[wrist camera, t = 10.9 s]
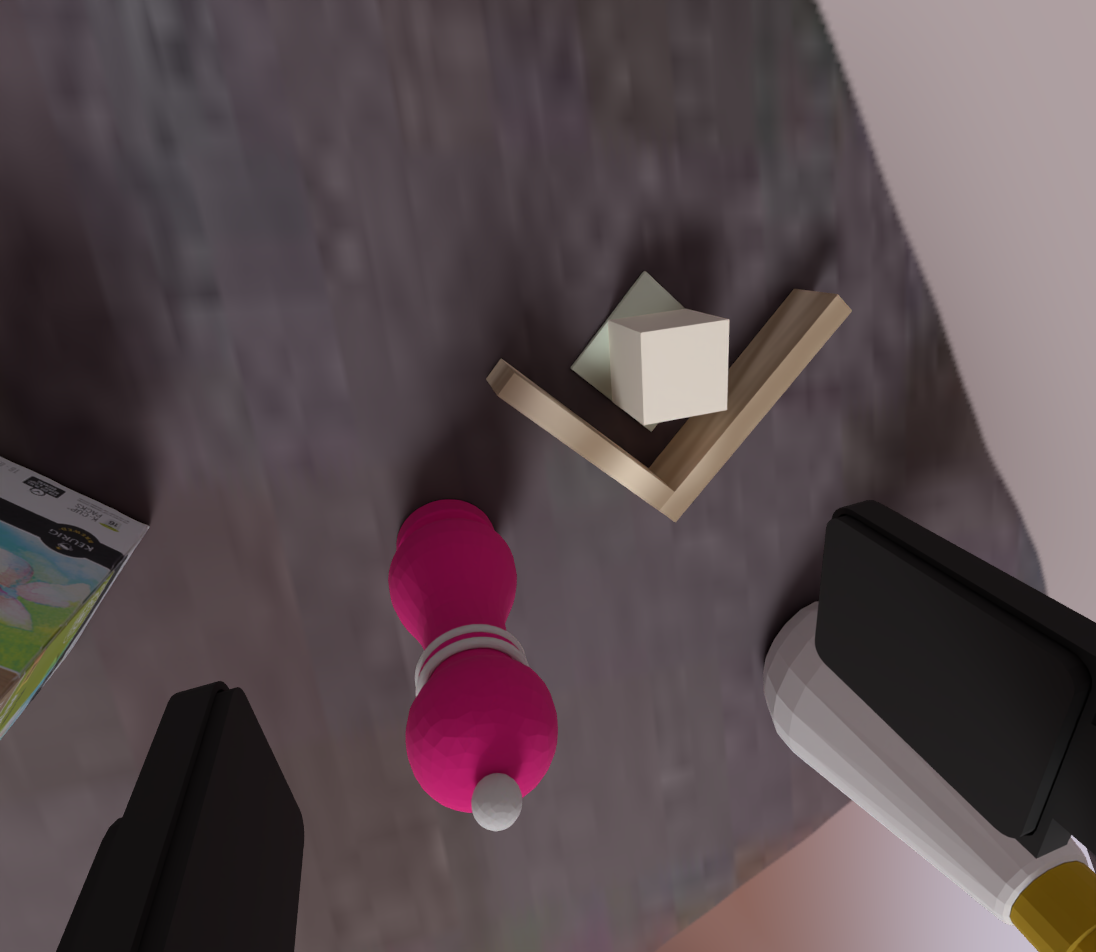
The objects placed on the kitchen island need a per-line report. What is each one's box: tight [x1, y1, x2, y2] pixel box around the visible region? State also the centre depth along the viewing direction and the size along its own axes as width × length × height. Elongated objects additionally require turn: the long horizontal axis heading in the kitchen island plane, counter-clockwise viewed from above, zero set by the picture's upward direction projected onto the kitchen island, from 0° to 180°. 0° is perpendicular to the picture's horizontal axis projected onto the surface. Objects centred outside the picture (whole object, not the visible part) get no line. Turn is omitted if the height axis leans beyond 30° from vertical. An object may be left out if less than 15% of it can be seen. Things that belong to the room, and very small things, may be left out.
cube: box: [608, 309, 729, 425], centre depth 34 cm, size 5×5×5 cm
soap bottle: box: [763, 601, 1096, 952], centre depth 35 cm, size 13×10×29 cm
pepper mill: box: [388, 499, 558, 831], centre depth 29 cm, size 7×7×20 cm
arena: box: [486, 271, 852, 522], centre depth 34 cm, size 14×16×4 cm
